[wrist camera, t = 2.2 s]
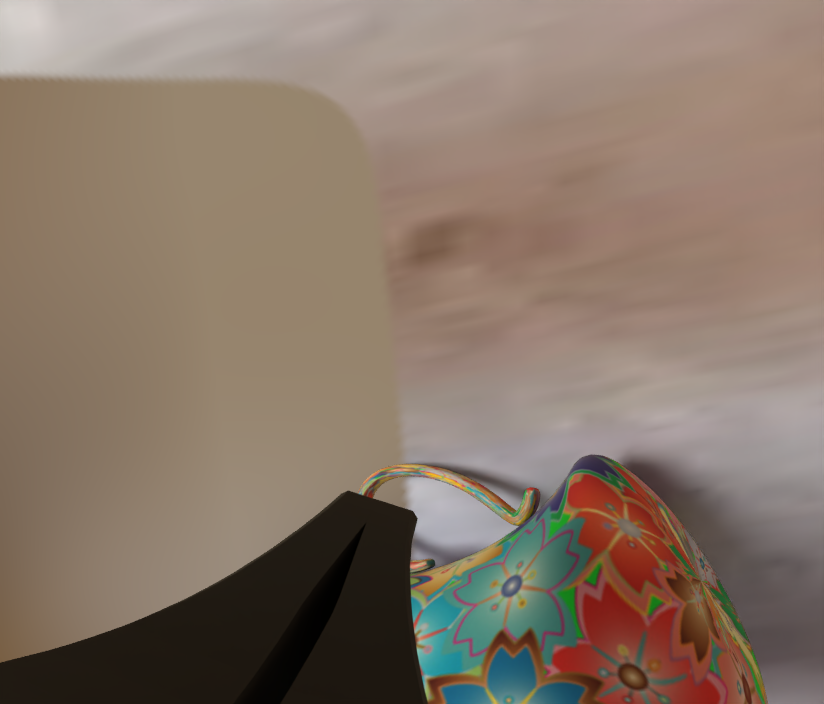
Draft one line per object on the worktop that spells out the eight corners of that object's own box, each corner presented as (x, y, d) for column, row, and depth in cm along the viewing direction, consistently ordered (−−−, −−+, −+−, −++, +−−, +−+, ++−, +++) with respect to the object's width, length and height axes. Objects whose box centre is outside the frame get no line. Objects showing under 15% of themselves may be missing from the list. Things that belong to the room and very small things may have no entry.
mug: (798, 851, 13) (363, 981, 17) (818, 720, 20) (519, 829, 24) (505, 316, 18) (223, 510, 22) (610, 374, 25) (389, 509, 29)
